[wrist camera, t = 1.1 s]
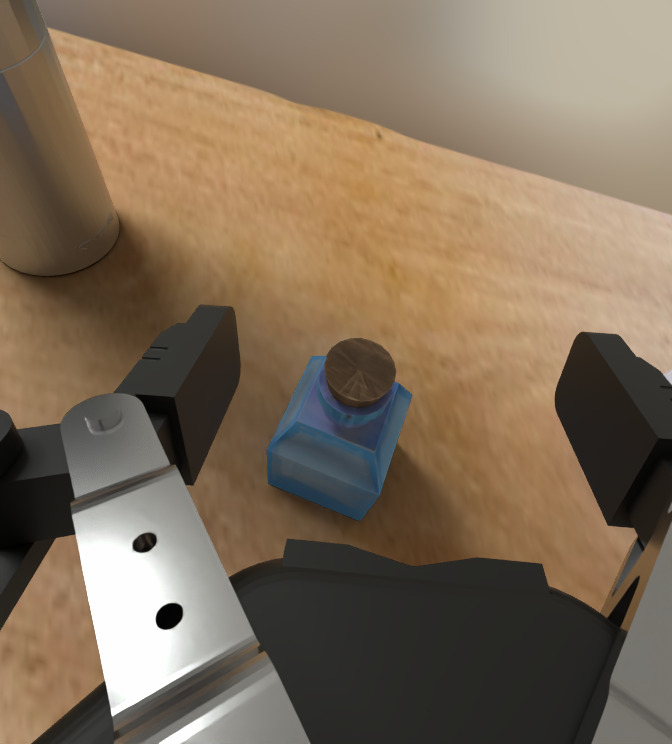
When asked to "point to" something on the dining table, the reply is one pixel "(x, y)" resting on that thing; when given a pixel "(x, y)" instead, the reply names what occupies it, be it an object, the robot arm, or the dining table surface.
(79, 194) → the robot arm
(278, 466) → the perfume bottle
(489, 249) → the dining table surface
